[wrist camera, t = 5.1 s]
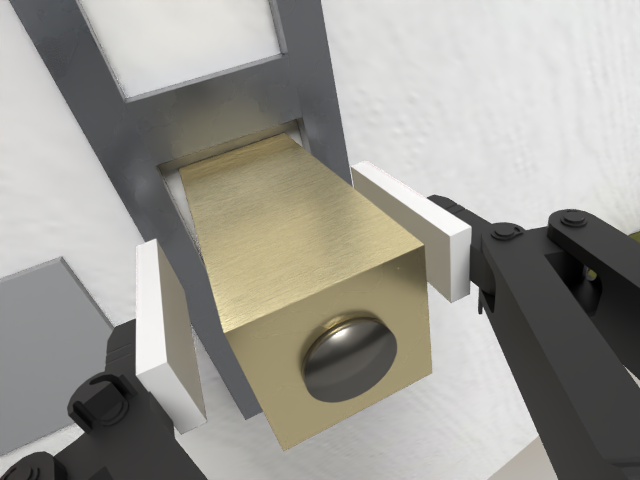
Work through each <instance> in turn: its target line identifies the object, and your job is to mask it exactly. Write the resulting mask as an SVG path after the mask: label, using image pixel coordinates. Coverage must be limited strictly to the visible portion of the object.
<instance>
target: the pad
mask: <svg viewBox="0 0 640 480" xmlns="http://www.w3.org/2000/svg"><path fill="white" fill-rule="evenodd" d="M113 330H114V327H113V326H112V325H111V323H110V322H109V320H108V319H107V318H106V316H105V315H104V314H103V312H102V311H101V310H100V308H99V307H98V305H97V304H96V303H95V301H94V300H93V299H92V297H91V296H90V295H89V293H88V292H87V290H86V289H85V288H84V286H83V285H82V284H81V282H80V281H79V280H78V278H77V277H76V275H75V274H74V273H73V271H72V270H71V269H70V267H69V266H68V265H67V263H66V262H65V260H64V259H63V258H62V257H59V258H56V259H53V260H51V261H48V262H45V263H42V264H40V265H37V266H34V267H31V268H29V269H26V270H23V271H20V272H18V273H15V274H12V275H9V276H7V277H4V278H1V279H0V456H1V455H3V454H6V453H8V452H10V451H12V450H15V449H17V448H19V447H21V446H23V445H26V444H28V443H30V442H32V441H34V440H37V439H39V438H41V437H43V436H45V435H48V434H50V433H52V432H54V431H56V430H59V429H61V428H63V427H65V426H67V425H70V424H72V423H74V421H73V420H72V419H71V418H70V417H69V416H68V411H67V406H68V403H69V400H70V398H71V396H72V395H73V394H74V392H75V391H76V390H77V388H78V387H79V386H81V385H82V384H83V383H84V382H85V381H86V380H87V379H89V378H91V377H92V376H94V375H96V374H97V373H100V372H104V371H105V366H106V364H105V361H106V356H107V354H106V350H107V340H108V339H109V337H110V335H111V333H112V331H113Z"/></svg>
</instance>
